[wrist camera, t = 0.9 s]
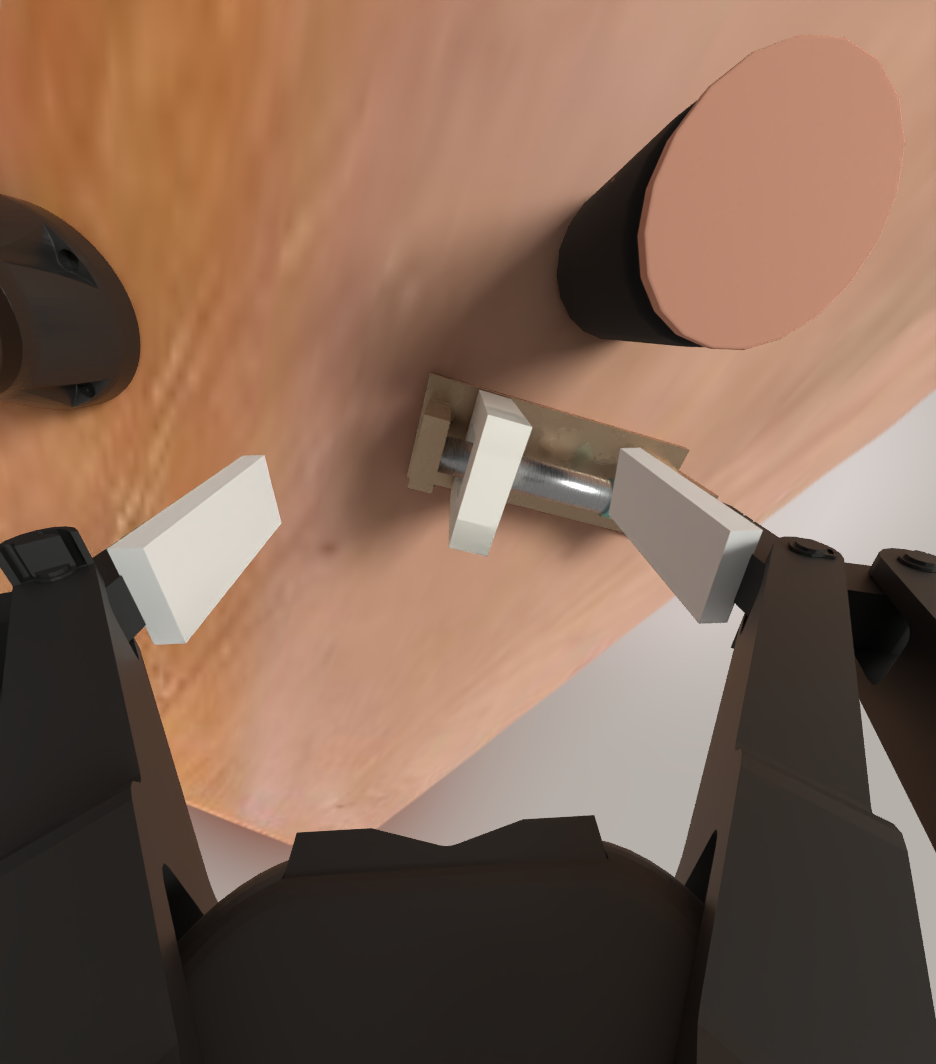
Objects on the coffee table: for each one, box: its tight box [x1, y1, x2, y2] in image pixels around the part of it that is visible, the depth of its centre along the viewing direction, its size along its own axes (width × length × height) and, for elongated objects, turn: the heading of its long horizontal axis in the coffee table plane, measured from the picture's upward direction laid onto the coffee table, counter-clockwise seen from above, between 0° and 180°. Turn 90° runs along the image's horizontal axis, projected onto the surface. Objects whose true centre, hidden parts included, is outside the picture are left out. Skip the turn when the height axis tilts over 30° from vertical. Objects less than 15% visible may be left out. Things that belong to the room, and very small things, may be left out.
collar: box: [449, 390, 532, 556], centre depth 33 cm, size 3×10×11 cm, turn 164°
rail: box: [407, 372, 718, 533], centre depth 37 cm, size 26×10×9 cm, turn 74°
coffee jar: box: [557, 35, 905, 350], centre depth 25 cm, size 11×11×18 cm
